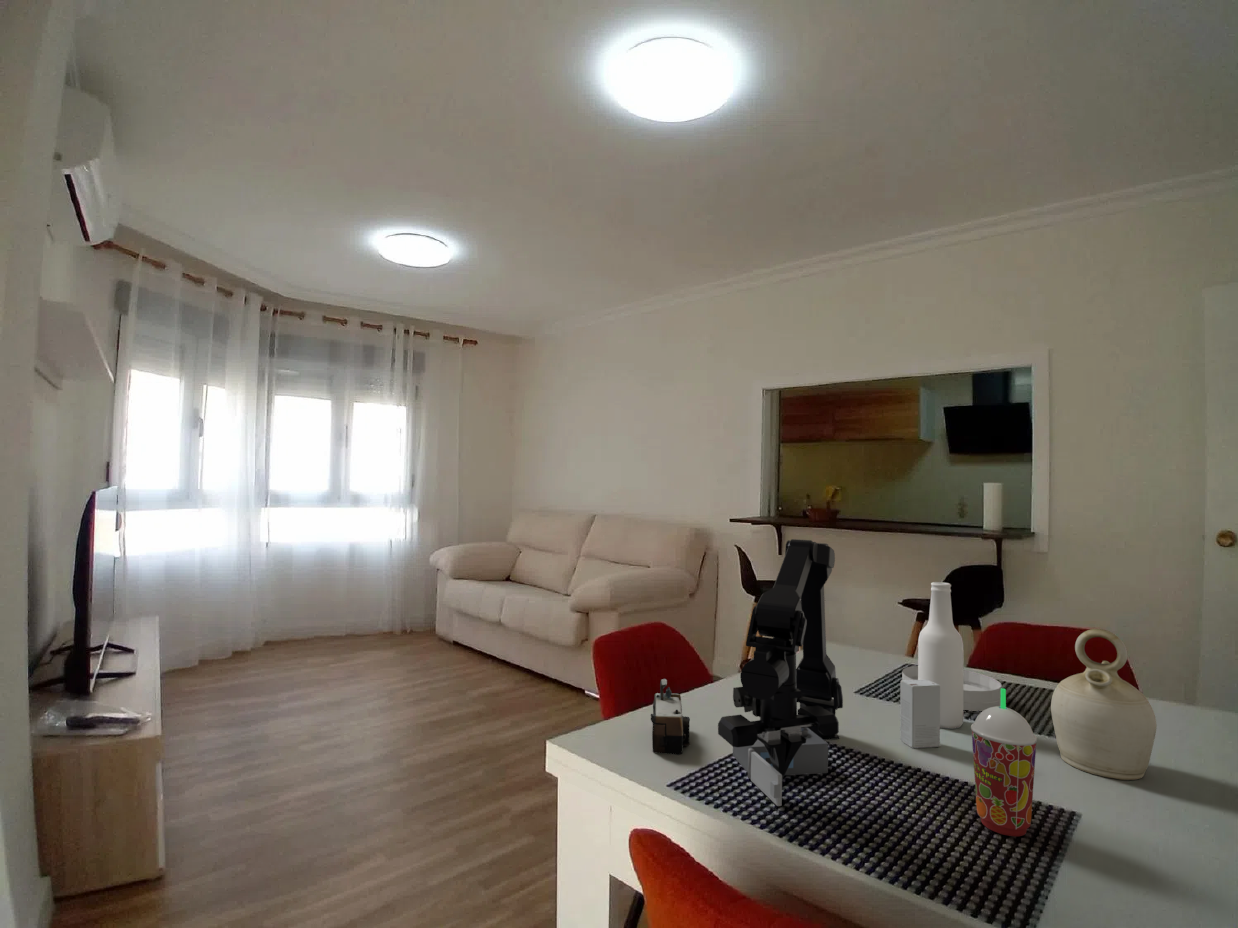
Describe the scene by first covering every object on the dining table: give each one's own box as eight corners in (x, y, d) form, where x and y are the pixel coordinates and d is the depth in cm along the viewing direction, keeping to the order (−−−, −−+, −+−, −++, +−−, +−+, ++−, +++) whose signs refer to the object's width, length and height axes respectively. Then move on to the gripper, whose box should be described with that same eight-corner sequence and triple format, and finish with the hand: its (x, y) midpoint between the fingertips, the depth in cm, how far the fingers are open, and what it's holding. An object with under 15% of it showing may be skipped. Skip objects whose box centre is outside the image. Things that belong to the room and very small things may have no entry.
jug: (1130, 792, 105) (1128, 641, 107) (1033, 756, 119) (1033, 623, 120) (1174, 775, 112) (1172, 634, 114) (1078, 744, 126) (1077, 618, 127)
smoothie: (958, 812, 96) (959, 680, 97) (1010, 812, 97) (1009, 680, 98) (995, 842, 88) (995, 697, 89) (1051, 841, 89) (1050, 697, 90)
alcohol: (959, 732, 130) (959, 587, 132) (913, 722, 136) (914, 582, 137) (966, 721, 137) (966, 583, 139) (922, 712, 143) (923, 579, 144)
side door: (782, 805, 96) (783, 774, 97) (773, 806, 96) (774, 775, 96) (752, 776, 106) (752, 748, 107) (744, 777, 106) (744, 748, 106)
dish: (911, 679, 170) (911, 660, 171) (1006, 696, 158) (1006, 676, 158) (892, 699, 152) (892, 678, 153) (998, 720, 140) (998, 697, 140)
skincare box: (926, 739, 126) (926, 678, 127) (941, 748, 122) (941, 684, 122) (898, 740, 125) (898, 678, 126) (912, 749, 121) (912, 685, 121)
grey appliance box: (803, 751, 118) (804, 719, 118) (828, 773, 109) (828, 738, 109) (732, 755, 116) (733, 721, 116) (752, 777, 106) (752, 741, 107)
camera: (690, 757, 114) (691, 701, 115) (648, 754, 115) (650, 698, 116) (689, 727, 129) (690, 677, 130) (652, 724, 130) (654, 675, 131)
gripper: (800, 661, 111) (802, 751, 110) (703, 671, 105) (704, 765, 105) (840, 680, 100) (841, 780, 99) (733, 692, 95) (734, 797, 94)
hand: (779, 779), depth 100 cm, fingers closed
